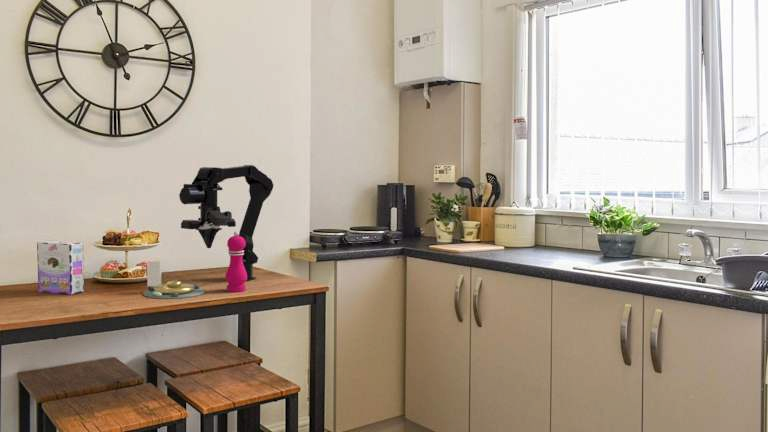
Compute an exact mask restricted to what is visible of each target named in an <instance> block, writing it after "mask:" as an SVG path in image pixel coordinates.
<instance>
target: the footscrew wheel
mask: <svg viewBox="0 0 768 432" xmlns="http://www.w3.org/2000/svg"><path fill="white" fill-rule="evenodd" d="M146 265H147V271H146V272H147V273H146V274H147V276H146V277H147V278H146V279H147V285H146V286H147V287H149V286H155V287H154V291H156V292H160V293H161V294H171V293H172V292H178V294H182V293H188V292H192V291H194V285H195V284H191V283H182V281H181V280H169V281H167V282H166V283H164V284H163V283H162V260H148V261H147V263H146Z"/></svg>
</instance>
